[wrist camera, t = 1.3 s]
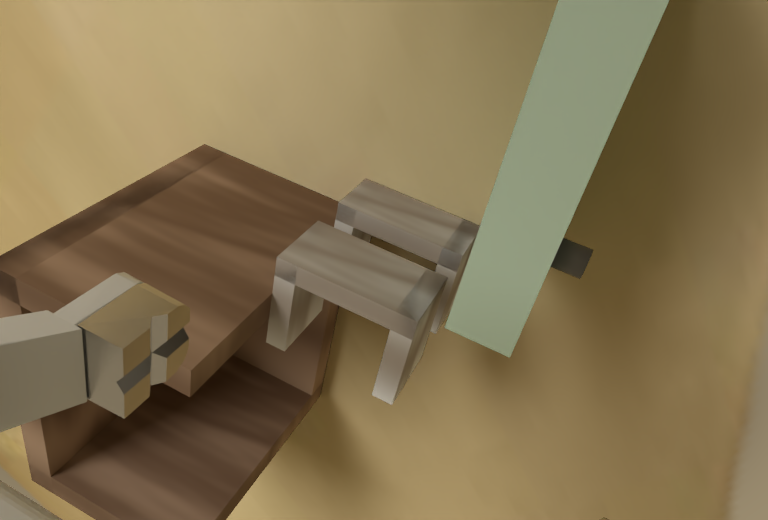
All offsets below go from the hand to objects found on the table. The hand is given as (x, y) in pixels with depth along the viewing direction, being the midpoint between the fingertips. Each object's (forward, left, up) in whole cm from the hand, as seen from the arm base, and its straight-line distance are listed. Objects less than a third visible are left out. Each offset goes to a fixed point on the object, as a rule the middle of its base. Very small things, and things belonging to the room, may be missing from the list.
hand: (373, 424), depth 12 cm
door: (-1, 0, -20) cm, 20 cm away
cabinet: (+16, -10, -20) cm, 28 cm away
